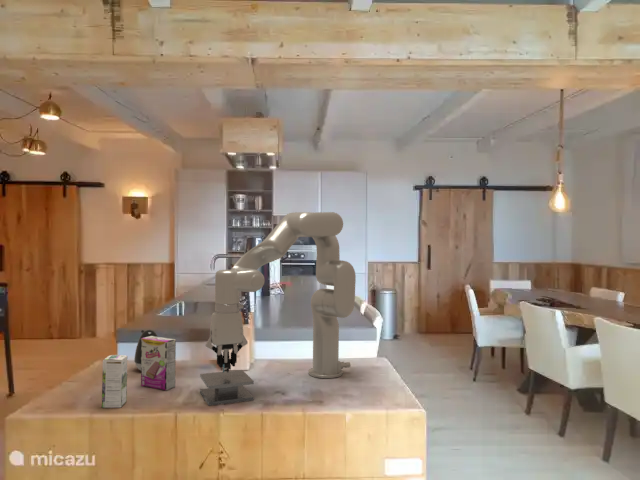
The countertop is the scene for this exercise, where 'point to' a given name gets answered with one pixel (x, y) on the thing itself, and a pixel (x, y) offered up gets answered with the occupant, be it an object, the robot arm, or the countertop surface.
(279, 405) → the countertop surface
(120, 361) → the syrup box
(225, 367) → the push button
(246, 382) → the stand
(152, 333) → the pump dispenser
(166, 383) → the candy bar box
